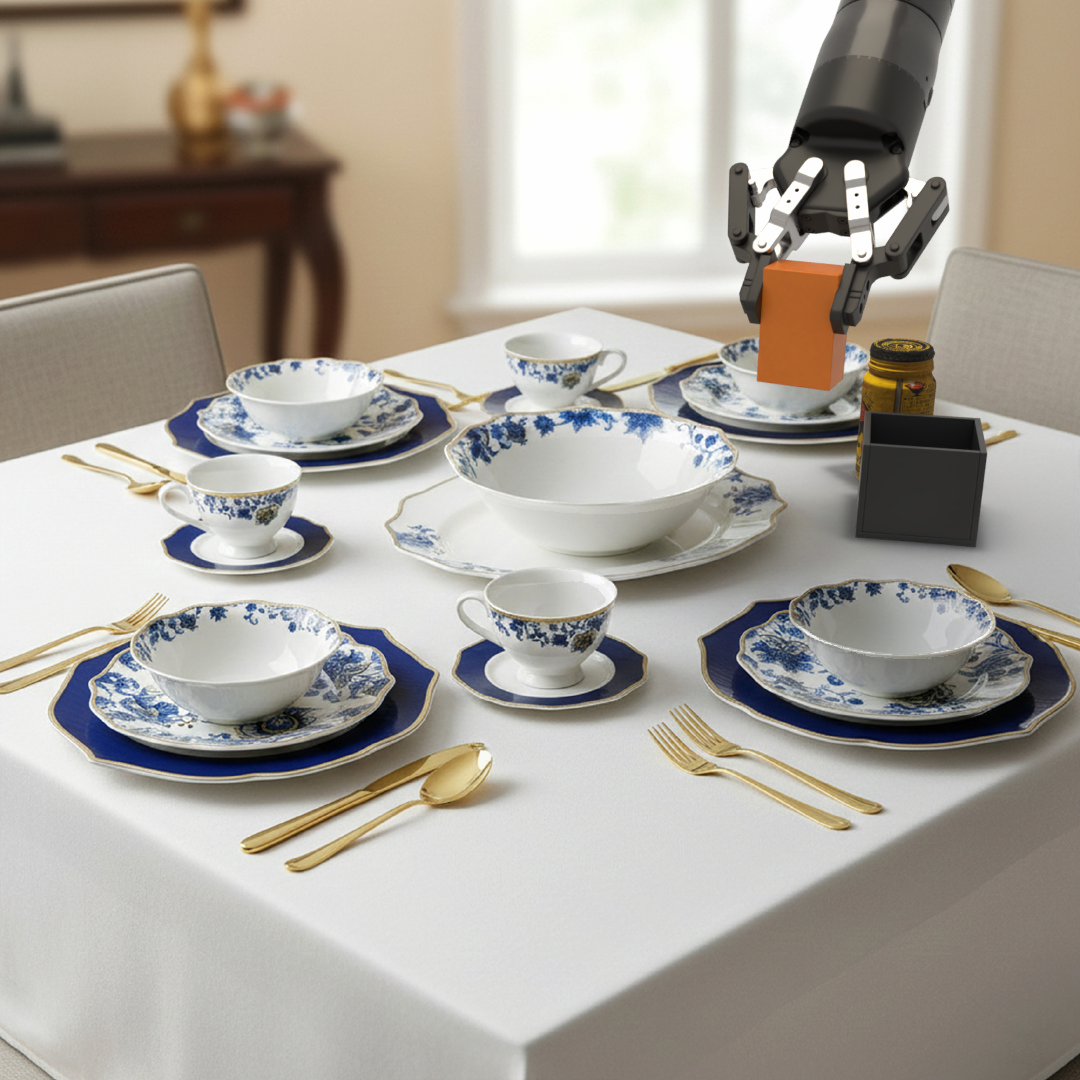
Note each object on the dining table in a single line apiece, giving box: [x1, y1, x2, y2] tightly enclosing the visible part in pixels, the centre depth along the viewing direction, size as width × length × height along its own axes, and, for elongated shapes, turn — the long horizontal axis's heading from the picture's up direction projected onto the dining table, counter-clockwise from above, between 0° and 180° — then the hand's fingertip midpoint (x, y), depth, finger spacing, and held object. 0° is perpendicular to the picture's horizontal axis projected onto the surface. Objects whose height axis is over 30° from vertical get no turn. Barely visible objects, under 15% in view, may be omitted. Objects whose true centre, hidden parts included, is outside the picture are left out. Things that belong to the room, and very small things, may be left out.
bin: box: [854, 411, 988, 548], centre depth 115 cm, size 9×9×8 cm
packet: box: [756, 259, 848, 392], centre depth 88 cm, size 3×5×7 cm, turn 63°
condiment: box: [855, 337, 937, 481], centre depth 124 cm, size 7×8×12 cm
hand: (795, 320), depth 87 cm, fingers closed on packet, 4 cm apart
